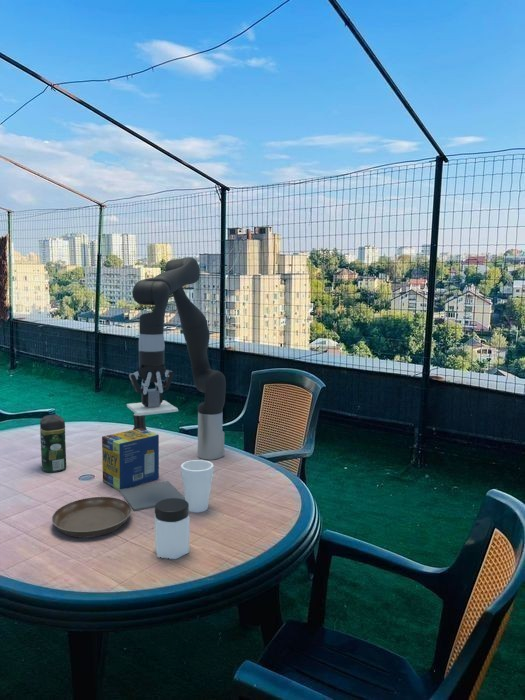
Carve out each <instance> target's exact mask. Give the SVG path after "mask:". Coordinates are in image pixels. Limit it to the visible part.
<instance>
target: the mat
mask: <svg viewBox="0 0 525 700" xmlns="http://www.w3.org/2000/svg"><path fill="white" fill-rule="evenodd" d="M119 490H120V491H119ZM119 490H118V491H119V492H120V494H121V495H122V496H123V498H124V499H125V502H127V503H128V504H129V505H130V506H131V509H132V510H133V512H137V511H142V510H146V509H151V508H155V505H156V503H158V502H159V501H161V500H164V499H168V498H179V499H183V500H185V496H184V494H182V493H181V492H180V491H179V490H178V489H177V488H176V487H175V486H174V485H173V484H172V483H171V481H169V480H165V481H160V482H153V483H149V484H141V485H136V486H133V487H130V488H125V489H119Z"/></svg>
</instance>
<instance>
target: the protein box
mask: <svg viewBox="0 0 525 700" xmlns="http://www.w3.org/2000/svg"><path fill="white" fill-rule="evenodd" d="M159 439H160V434H159V433H155V432H152V431H150V430H148V429H147V430H145V429H143V428H138V429H134V430H133V429H131V430H124V431H121V432H117V433H113V434H108V435H104V436H101V444H102V447H101V448H102V449H101V452H102V456H101V457H102V482H103V483H105V484H106V485H108V486H111V487H112V488H114V489H116V490H117V491H119V492H120V490H119V489H125V488H131V487H136V486H141V485H144V484H146V483H148V482H149V483H150V482H152V480H153V481H156V480H158V479H160V472H159V471H160V470H159V469H160V467H159V466H160V461H159V460H160V459H159V456H160V454H159V453H160V445H159V444H160V440H159ZM155 479H156V480H155Z"/></svg>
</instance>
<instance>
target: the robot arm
mask: <svg viewBox="0 0 525 700" xmlns="http://www.w3.org/2000/svg"><path fill="white" fill-rule="evenodd" d="M199 265H200V264H199V263H198V261H197V260H196V259H195V258H193V257H183V258H177V259H172V260H168V261H167V262H166V263H165V271H163V272H161V273H159V274H157V275H156V276H153V277H149V278H144V279H140V280H138V281H137V282H136V283H135V284H134V285H133V289H132V291H131V292H132V293H131V294H132V295H131V296H132V297H133V301H134V302H135V303H137V304H138V305H142V306H154V308H153V310H152V312H145V313H142V314H141V315H140V316H139V318H138V321H139V322H138V323H139V324H138V325H139V329H138V330H139V332H138V333H139V336H138V368H137V371H134V372H133V373H131V372H130V373H129V374H128V378H129V379H130V382H131V385H132V386H133V389H134V391H135V392H136V393H137V394H140V395H141V396H140V399H141V400H140V401H141V402H140V403H142V404H143V405H144V406H145V407H146V406H147V390H148V389H149V386H150V384H151V383H154V385H155V389H157V390H159V391H160V405H161V403H162V401H163V395H164V392H166V391H169V390H170V386H171V384H172V381H173V378H174V375H175V372H174V371H172V370H169V369H167V368H166V366H165V348H166V345H165V334H164V332H165V331H164V328H165V327H164V321H165V320H164V319H165V315H166V310H167V306H168V304H169V300H170V299H169V298H170V295H171V294H172V297H173V300H174V302H175V306H176V309H177V313H178V317H179V322H180V325H181V330H182V333H183V336H184V337H183V338H184V341H185V344H186V348H187V352H188V355H189V360H190V364H191V372H192V378H193V383H194V384H193V385H194V386H195V388H196V390H197V391H199V392H201V393H203V394H204V401H203V402H201V403H199V404H198V405H197V457H198V458H199V459H200V460H205V461H209V460H218V459H220V458H222V457H225V431H223V409H224V406H225V403H226V391H227V380H226V377H225V375H224V373H223V372H221V371H219V370H216V369H212V368H211V365H210V362H209V358H208V347H209V343H210V338H211V337H210V329H209V326H208V322H207V319H206V318H207V317H206V315H204V313H203V312H202V310H201V309H199V308H198V307H197V306H196V304H194V303H193V302H192V300H191V299H190V298H189V297H188V296H187V294H186V292H185V290H184V287H185V286H188V285H192V284H196V283H197V282H198V281H199V280H200V277H201V270H200V266H199ZM163 376H165V379H164V381H163V383H162V378H163ZM139 377H140V378H141V379H142V380H141V386H140V384H139V382H138V379H139Z"/></svg>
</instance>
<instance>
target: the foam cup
mask: <svg viewBox="0 0 525 700" xmlns="http://www.w3.org/2000/svg"><path fill="white" fill-rule="evenodd" d="M214 467H215V465H214V463H213V462H211V461H209V460H206V459H193V460H187V461H184V462H182V464H180V475H181V478H182V479H181V480H182V487H183V496H184V497H185V501H187V502H188V504H189V513H202V512H205V511H207V510H208V508H209V503H210V495H211V489H212V483H213V482H212V481H213V475H214V472H215V471H214Z"/></svg>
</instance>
